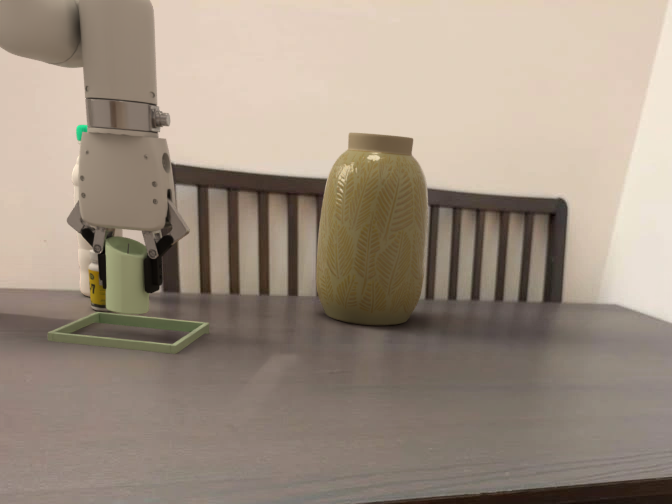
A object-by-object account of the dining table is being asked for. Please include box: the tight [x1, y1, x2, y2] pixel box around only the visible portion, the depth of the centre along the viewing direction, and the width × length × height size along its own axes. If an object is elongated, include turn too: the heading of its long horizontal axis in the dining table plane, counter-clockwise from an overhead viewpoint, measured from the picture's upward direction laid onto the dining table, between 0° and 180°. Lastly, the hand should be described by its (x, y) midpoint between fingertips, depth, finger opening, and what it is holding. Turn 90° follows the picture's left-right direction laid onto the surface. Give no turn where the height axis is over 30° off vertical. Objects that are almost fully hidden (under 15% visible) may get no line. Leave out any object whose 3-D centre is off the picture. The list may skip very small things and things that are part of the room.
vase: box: [315, 132, 429, 327], centre depth 114 cm, size 17×17×27 cm
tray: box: [47, 311, 210, 355], centre depth 90 cm, size 15×13×2 cm
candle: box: [105, 236, 150, 315], centre depth 87 cm, size 5×5×8 cm
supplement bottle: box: [88, 250, 113, 313], centre depth 108 cm, size 5×5×8 cm
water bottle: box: [71, 124, 123, 298], centre depth 114 cm, size 7×7×25 cm
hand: (131, 287), depth 88 cm, fingers closed on candle, 4 cm apart
